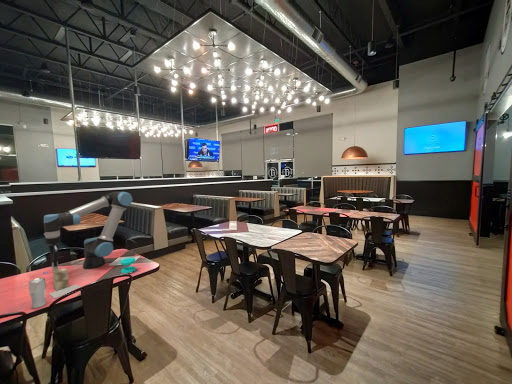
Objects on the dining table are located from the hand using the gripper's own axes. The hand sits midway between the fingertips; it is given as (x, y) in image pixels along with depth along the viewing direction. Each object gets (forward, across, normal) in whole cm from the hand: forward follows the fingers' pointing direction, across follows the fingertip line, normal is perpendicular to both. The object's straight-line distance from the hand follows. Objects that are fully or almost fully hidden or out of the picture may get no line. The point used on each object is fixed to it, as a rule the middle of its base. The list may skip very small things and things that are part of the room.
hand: (55, 270), depth 152 cm
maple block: (+10, +10, 0) cm, 14 cm away
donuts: (+10, +22, +37) cm, 45 cm away
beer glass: (+10, +25, -14) cm, 30 cm away
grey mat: (+10, +18, 0) cm, 21 cm away
